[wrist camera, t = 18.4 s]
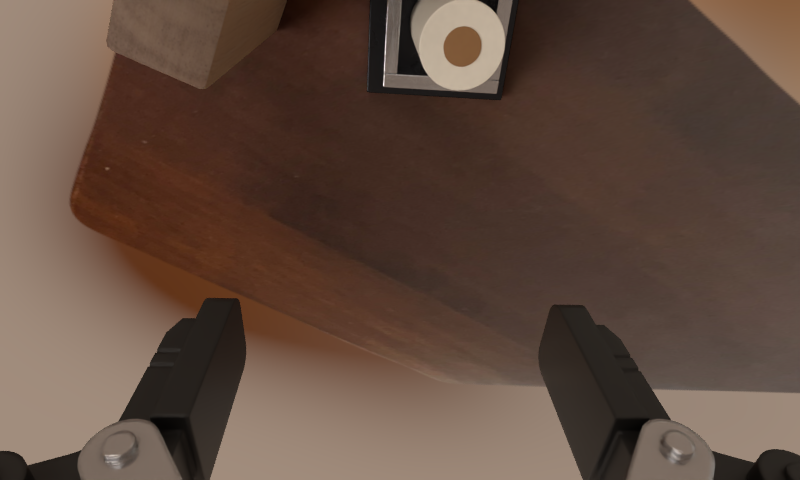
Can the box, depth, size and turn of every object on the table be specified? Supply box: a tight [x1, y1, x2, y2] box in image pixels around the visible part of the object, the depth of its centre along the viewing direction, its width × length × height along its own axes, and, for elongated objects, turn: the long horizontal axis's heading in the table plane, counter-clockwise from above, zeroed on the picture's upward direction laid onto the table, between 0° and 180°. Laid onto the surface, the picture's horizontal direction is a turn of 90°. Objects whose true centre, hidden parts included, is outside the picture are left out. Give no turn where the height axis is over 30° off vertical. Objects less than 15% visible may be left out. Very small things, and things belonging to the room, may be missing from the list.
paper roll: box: [410, 0, 505, 91], centre depth 32 cm, size 5×5×10 cm
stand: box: [367, 0, 519, 100], centre depth 36 cm, size 11×11×4 cm
